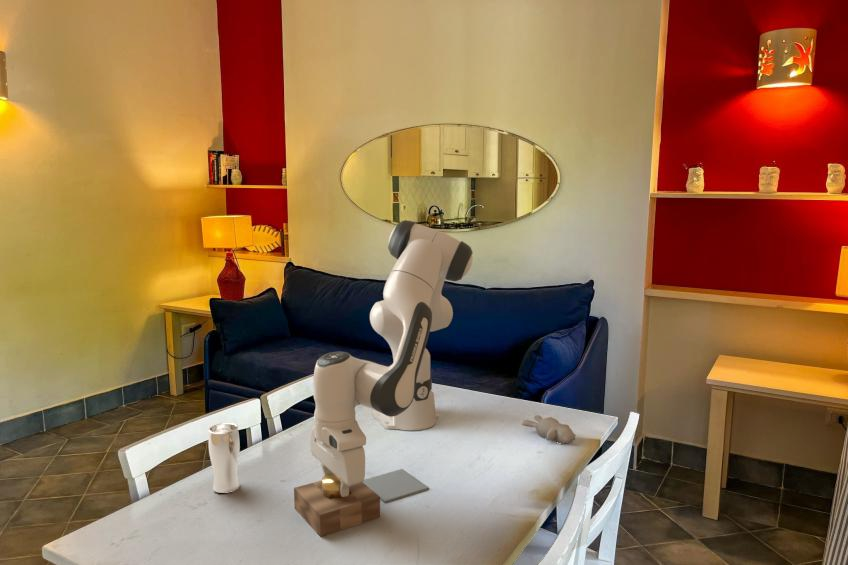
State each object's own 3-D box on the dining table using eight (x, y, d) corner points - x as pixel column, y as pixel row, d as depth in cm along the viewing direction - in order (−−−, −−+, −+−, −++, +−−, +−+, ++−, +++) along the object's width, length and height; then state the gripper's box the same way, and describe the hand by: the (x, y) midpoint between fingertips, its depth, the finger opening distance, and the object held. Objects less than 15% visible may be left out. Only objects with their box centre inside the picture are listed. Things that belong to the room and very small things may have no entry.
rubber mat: (360, 482, 151) (360, 480, 151) (402, 470, 158) (402, 468, 158) (384, 502, 141) (384, 500, 141) (428, 489, 148) (428, 487, 148)
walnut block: (294, 508, 139) (293, 487, 138) (351, 491, 147) (350, 472, 146) (320, 536, 128) (319, 514, 127) (380, 517, 135) (380, 496, 134)
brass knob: (318, 510, 138) (317, 476, 137) (343, 503, 141) (342, 470, 140) (330, 522, 133) (329, 487, 132) (355, 514, 136) (354, 480, 135)
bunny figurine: (562, 435, 171) (520, 415, 181) (559, 452, 172) (518, 431, 183) (582, 427, 177) (540, 407, 188) (579, 443, 178) (538, 423, 189)
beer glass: (247, 484, 151) (244, 424, 149) (229, 497, 144) (226, 435, 142) (223, 479, 153) (220, 421, 151) (204, 492, 146) (201, 431, 144)
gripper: (302, 416, 141) (304, 474, 143) (342, 446, 124) (343, 511, 126) (328, 411, 145) (329, 467, 147) (370, 440, 128) (371, 503, 130)
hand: (336, 488), depth 136 cm, fingers closed on brass knob, 6 cm apart
